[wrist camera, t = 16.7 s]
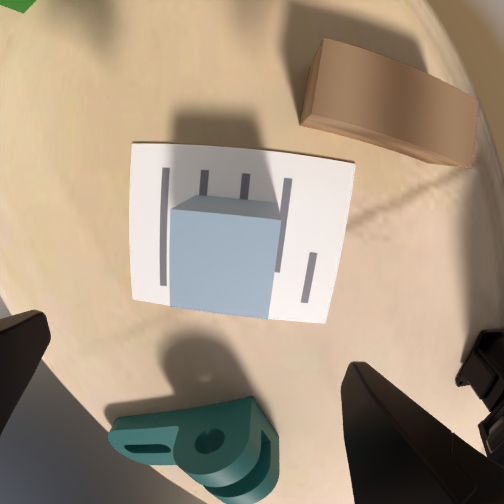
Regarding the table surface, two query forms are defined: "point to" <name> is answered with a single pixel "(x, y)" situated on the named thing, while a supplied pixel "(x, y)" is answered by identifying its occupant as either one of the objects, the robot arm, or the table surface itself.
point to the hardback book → (17, 4)
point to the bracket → (208, 447)
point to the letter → (250, 188)
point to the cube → (223, 255)
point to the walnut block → (389, 105)
